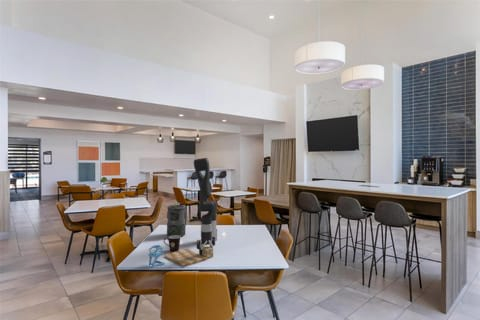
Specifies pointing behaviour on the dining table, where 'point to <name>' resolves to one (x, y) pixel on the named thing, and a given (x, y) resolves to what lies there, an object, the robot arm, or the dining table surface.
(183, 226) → the canister
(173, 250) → the coffee mug
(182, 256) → the board
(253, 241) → the dining table surface
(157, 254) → the chair
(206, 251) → the sanding block
